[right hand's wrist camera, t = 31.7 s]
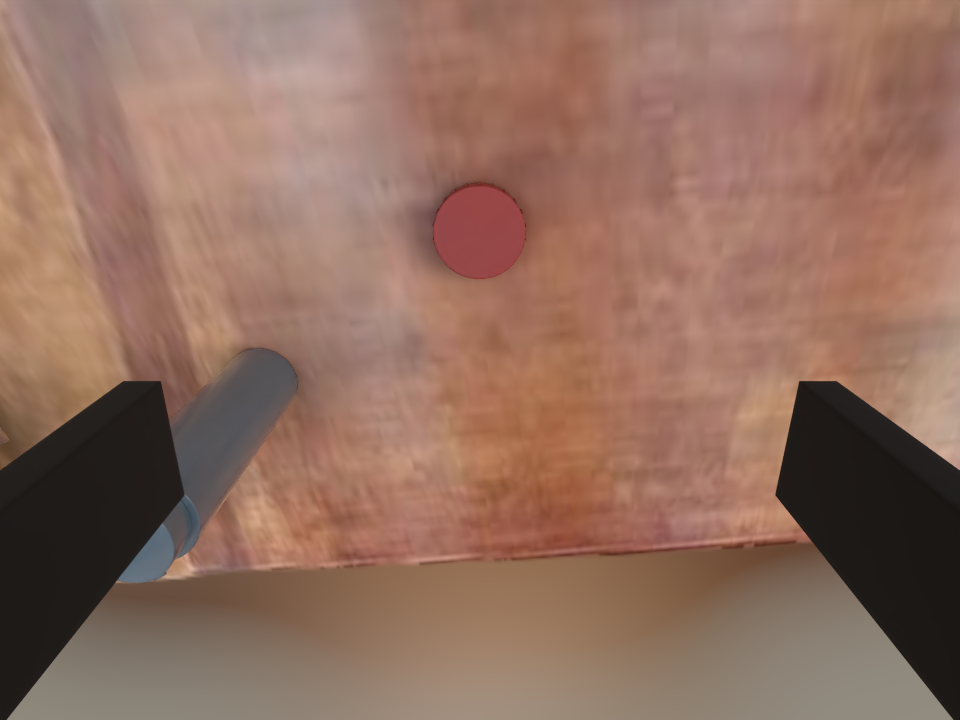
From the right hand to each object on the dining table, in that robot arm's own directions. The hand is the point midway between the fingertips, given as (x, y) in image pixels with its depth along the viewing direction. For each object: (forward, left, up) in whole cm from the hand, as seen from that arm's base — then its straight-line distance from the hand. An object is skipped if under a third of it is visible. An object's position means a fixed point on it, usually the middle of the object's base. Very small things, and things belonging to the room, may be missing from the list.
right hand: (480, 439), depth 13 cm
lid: (0, 0, -27) cm, 27 cm away
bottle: (+18, +7, -29) cm, 35 cm away
